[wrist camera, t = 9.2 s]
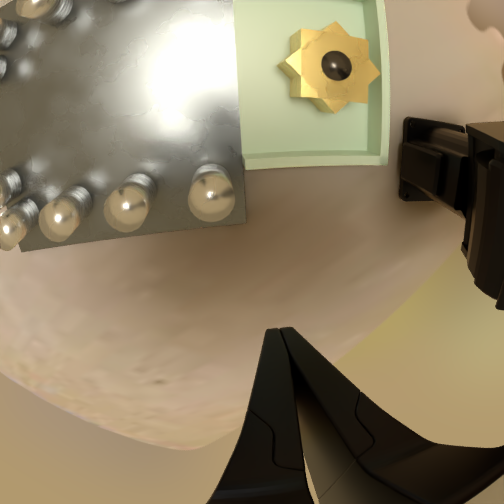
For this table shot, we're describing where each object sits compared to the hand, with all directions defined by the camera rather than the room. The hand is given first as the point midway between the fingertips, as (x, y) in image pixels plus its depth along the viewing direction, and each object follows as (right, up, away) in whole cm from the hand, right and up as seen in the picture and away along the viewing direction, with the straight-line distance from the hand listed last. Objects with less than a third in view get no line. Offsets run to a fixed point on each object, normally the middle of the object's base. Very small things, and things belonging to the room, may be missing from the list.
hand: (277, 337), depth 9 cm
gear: (+3, +14, +6) cm, 15 cm away
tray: (+3, +14, +6) cm, 16 cm away
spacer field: (-11, +13, +5) cm, 17 cm away
